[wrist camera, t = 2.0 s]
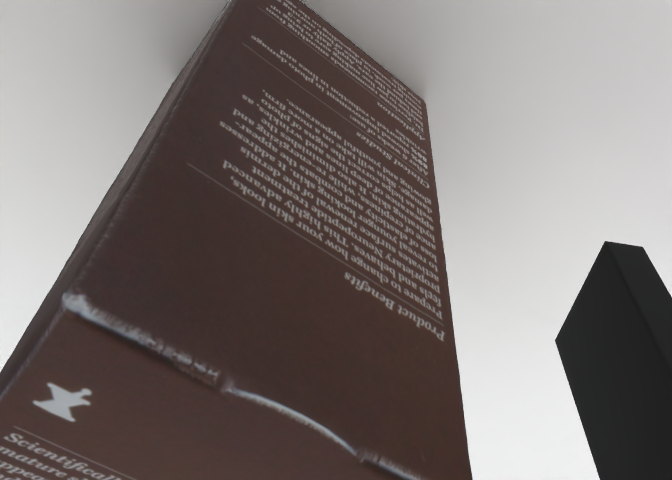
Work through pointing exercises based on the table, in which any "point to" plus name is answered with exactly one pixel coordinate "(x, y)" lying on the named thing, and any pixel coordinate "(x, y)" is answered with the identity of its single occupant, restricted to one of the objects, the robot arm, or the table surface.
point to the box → (253, 283)
